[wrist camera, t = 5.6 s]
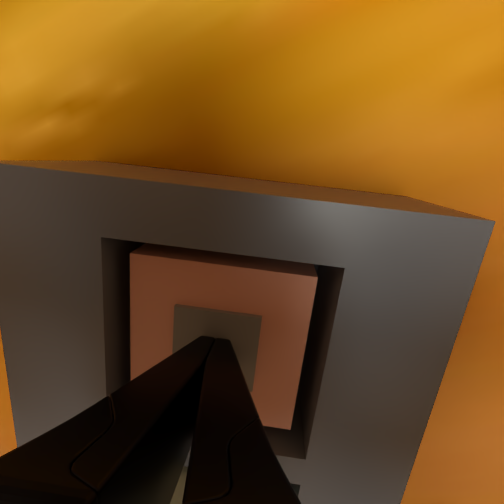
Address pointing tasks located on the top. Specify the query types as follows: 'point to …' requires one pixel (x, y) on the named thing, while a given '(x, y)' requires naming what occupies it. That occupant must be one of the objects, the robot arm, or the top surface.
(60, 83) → the top surface
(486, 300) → the top surface
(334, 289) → the gray keypad housing
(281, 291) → the terracotta key
